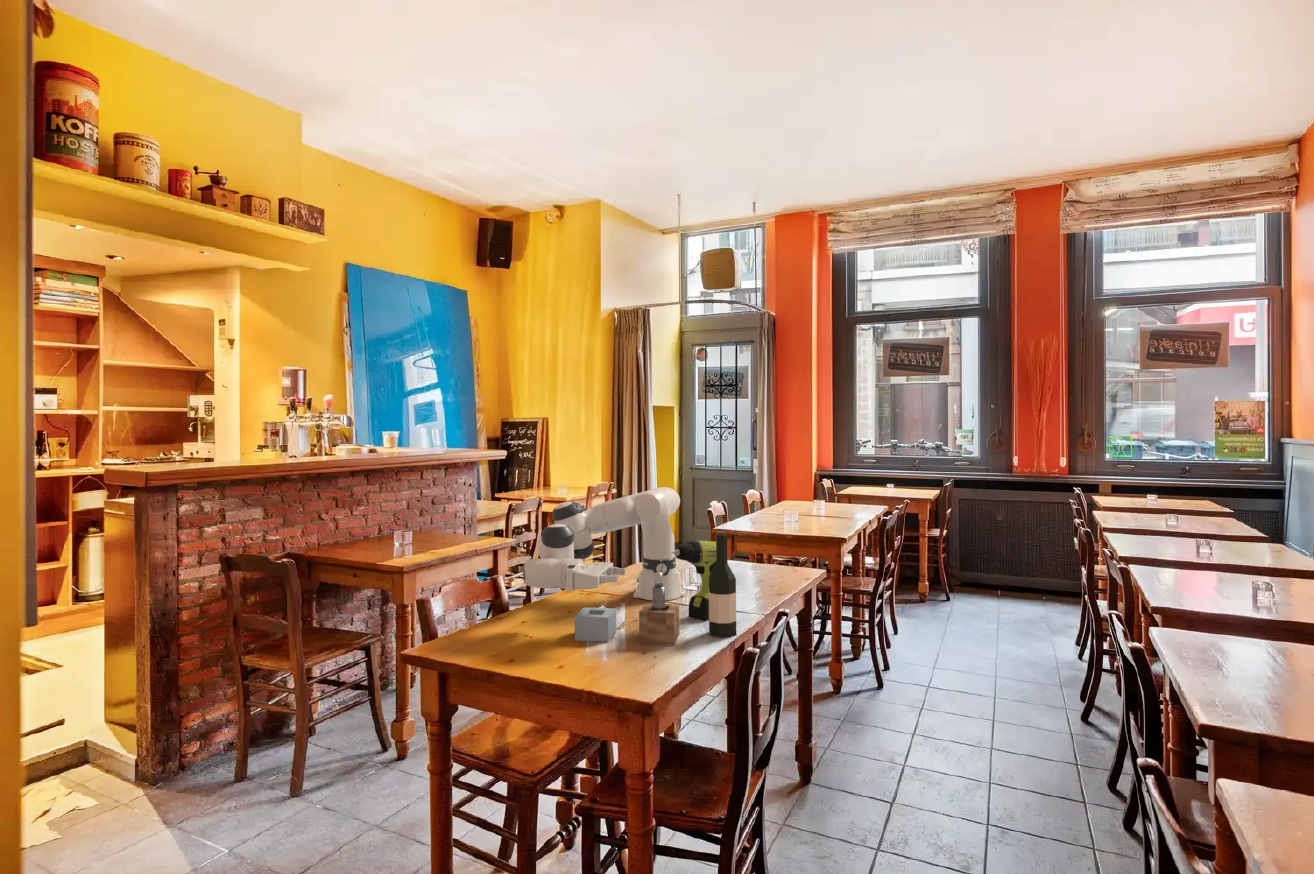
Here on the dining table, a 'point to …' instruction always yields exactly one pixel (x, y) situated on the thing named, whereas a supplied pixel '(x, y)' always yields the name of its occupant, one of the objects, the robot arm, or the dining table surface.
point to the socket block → (595, 624)
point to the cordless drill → (704, 561)
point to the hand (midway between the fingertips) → (621, 575)
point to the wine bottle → (722, 593)
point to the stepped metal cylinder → (658, 592)
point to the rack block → (659, 624)
